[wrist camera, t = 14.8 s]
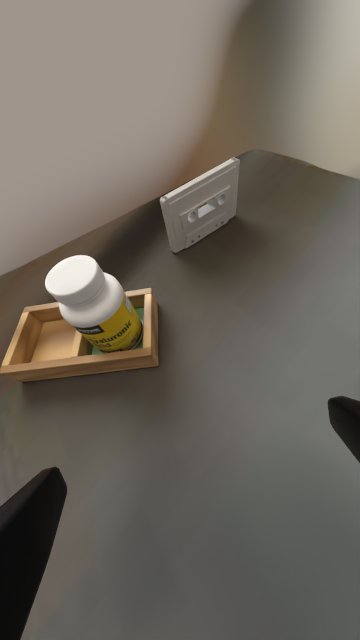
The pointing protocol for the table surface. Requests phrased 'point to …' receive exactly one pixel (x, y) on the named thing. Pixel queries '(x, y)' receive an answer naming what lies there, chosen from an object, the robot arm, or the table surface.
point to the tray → (75, 344)
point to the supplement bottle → (94, 304)
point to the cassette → (183, 205)
